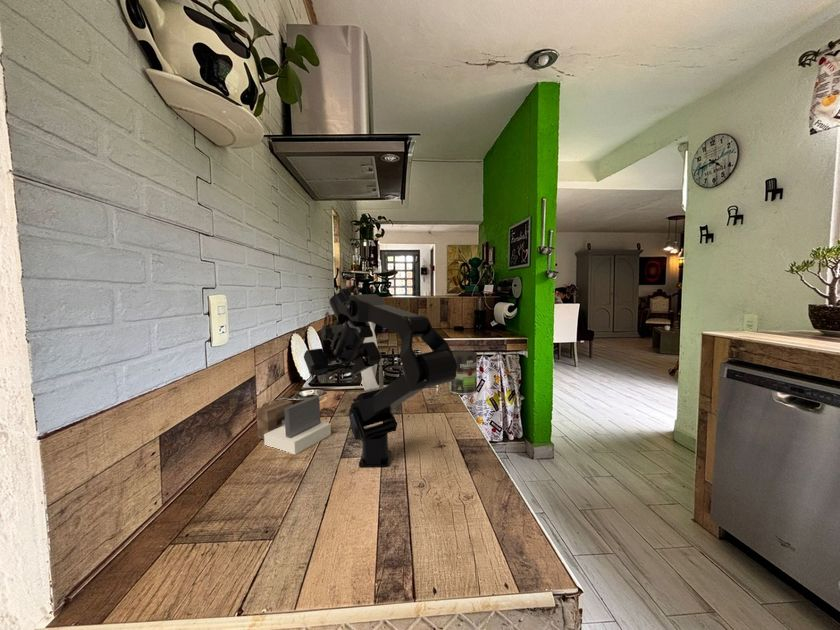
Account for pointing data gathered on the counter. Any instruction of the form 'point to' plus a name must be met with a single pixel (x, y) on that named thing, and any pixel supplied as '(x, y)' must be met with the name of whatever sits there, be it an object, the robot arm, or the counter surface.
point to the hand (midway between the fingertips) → (336, 377)
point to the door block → (297, 438)
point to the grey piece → (301, 416)
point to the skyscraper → (372, 369)
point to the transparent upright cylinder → (464, 373)
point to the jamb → (271, 416)
